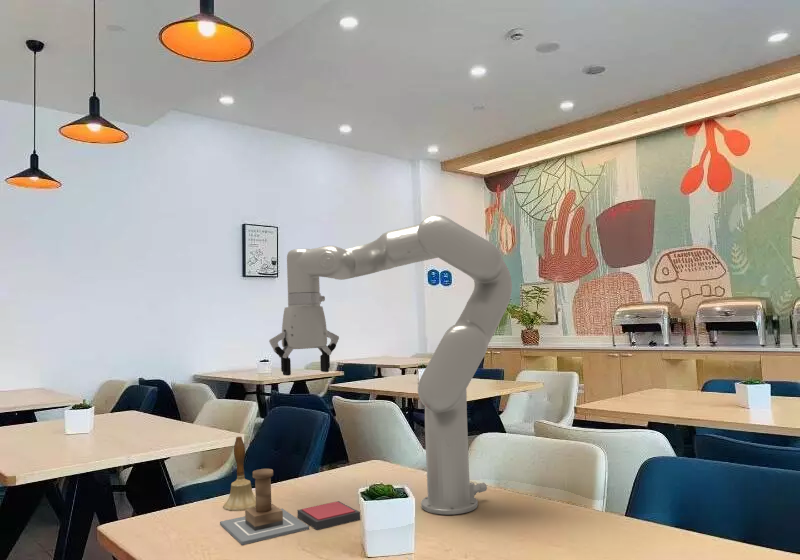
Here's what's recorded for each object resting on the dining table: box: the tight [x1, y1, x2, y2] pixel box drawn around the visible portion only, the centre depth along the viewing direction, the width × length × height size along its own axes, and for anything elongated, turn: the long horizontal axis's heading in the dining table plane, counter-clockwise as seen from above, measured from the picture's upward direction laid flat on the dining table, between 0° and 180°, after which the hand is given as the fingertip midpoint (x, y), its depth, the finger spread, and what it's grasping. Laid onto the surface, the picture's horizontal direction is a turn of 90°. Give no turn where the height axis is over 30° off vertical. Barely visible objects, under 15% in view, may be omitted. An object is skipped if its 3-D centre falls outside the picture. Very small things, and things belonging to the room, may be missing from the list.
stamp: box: [244, 468, 283, 531], centre depth 126 cm, size 6×6×11 cm
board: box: [219, 508, 310, 546], centre depth 126 cm, size 14×15×1 cm
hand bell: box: [222, 436, 256, 512], centre depth 142 cm, size 8×8×16 cm
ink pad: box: [296, 500, 361, 531], centre depth 129 cm, size 10×10×2 cm
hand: (306, 373), depth 142 cm, fingers open, 9 cm apart
